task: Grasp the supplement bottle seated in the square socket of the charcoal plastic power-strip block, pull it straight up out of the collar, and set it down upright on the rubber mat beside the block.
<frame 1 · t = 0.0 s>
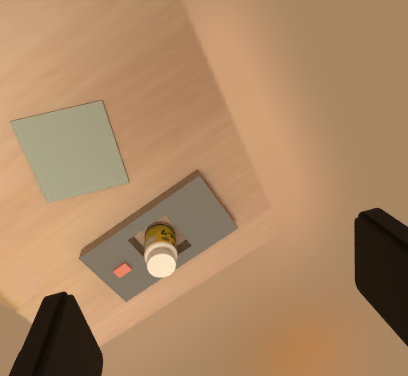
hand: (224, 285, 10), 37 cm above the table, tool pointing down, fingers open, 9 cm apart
supplement bottle: (159, 233, 51), resting in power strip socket
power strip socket: (159, 234, 51), on the table
rubber mat: (73, 153, 44), on the table
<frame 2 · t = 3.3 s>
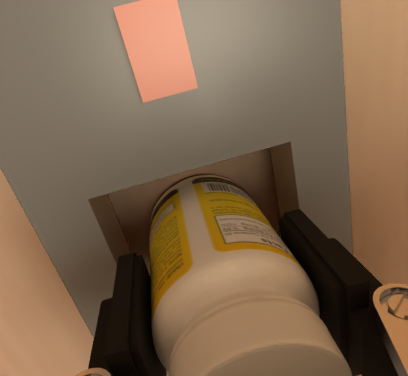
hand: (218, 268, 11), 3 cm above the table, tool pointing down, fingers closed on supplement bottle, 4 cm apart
supplement bottle: (202, 219, 15), resting in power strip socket, touching gripper
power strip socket: (203, 221, 14), on the table
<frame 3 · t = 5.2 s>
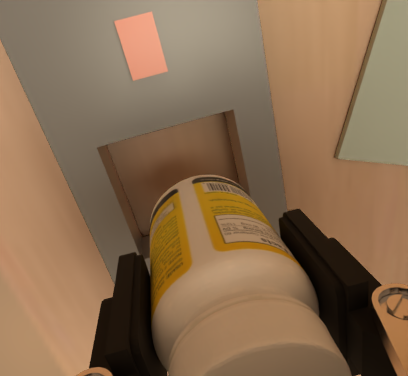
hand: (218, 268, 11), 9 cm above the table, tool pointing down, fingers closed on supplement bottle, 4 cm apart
supplement bottle: (202, 219, 15), point 6 cm above the table, touching gripper
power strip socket: (179, 174, 19), on the table
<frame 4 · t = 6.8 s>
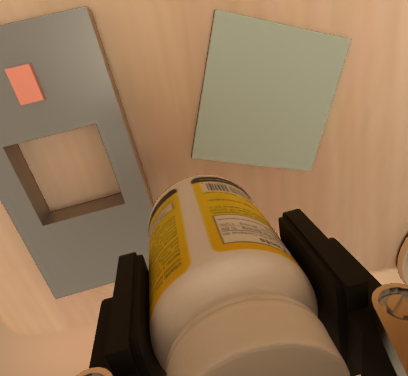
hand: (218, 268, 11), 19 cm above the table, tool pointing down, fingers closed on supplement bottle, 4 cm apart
supplement bottle: (201, 219, 14), point 15 cm above the table, touching gripper
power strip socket: (74, 166, 28), on the table
rubber mat: (267, 99, 28), on the table
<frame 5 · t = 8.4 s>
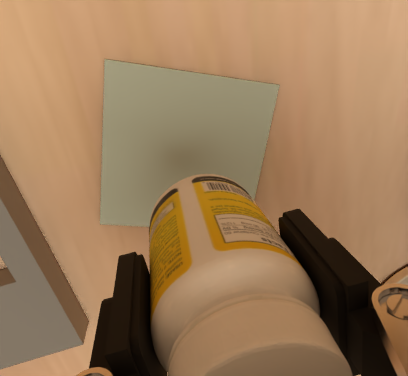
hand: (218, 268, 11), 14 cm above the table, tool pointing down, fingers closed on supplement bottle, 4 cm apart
supplement bottle: (202, 218, 14), point 10 cm above the table, touching gripper
rubber mat: (185, 156, 24), on the table
when the fingers open (5 cm above the table, at t = 10.0 s): supplement bottle drops 1 cm, resting on rubber mat.
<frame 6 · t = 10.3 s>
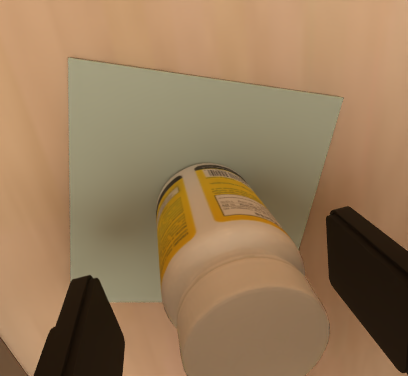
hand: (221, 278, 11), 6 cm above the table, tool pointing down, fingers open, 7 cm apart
supplement bottle: (204, 204, 16), resting on rubber mat
rubber mat: (197, 202, 16), on the table
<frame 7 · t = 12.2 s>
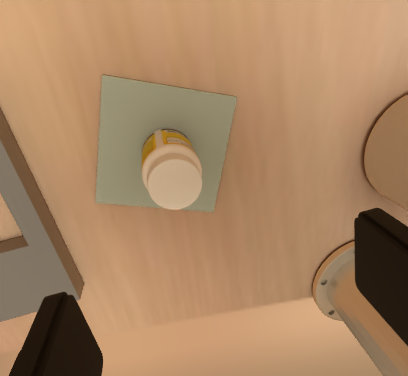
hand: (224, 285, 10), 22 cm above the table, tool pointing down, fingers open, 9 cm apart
supplement bottle: (167, 151, 31), resting on rubber mat
rubber mat: (164, 150, 31), on the table
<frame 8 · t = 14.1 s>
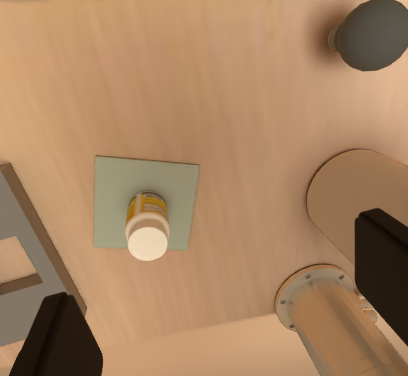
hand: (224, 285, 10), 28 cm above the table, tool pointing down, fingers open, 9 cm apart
supplement bottle: (147, 206, 40), resting on rubber mat
cylinder vase: (346, 191, 44), on the table
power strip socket: (9, 256, 39), on the table
rubber mat: (145, 206, 40), on the table
light bulb: (332, 38, 36), on the table
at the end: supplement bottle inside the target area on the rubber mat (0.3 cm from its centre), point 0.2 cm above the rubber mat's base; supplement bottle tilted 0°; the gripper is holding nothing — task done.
